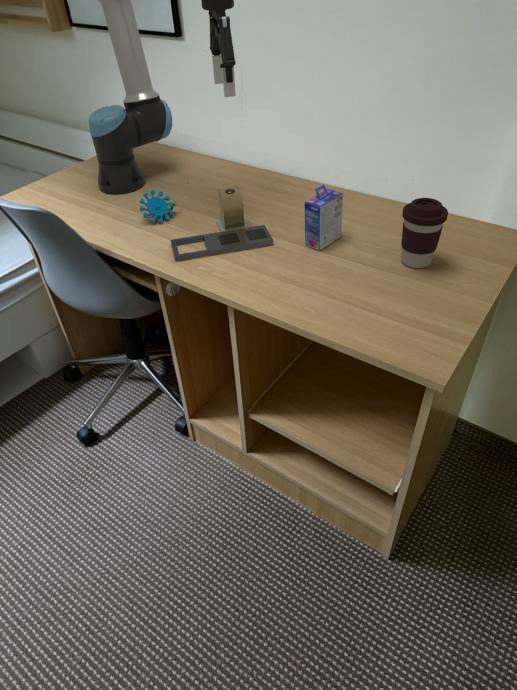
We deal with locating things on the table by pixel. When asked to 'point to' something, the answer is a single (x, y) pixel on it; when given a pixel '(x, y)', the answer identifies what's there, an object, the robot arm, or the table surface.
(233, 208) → the wooden speaker box
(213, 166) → the table surface
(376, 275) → the table surface
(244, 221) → the translucent green panel
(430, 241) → the coffee cup
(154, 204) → the blue spiky knobbed toy
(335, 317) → the table surface
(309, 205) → the ink cartridge box
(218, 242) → the rail
